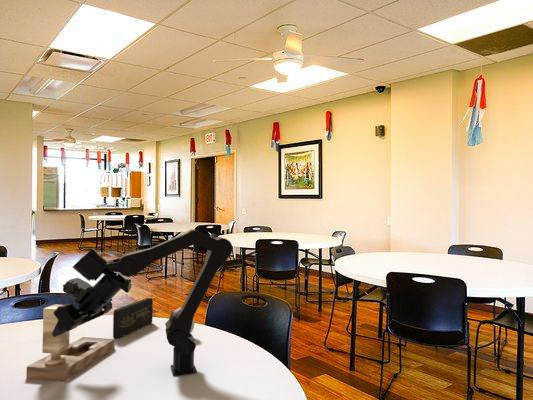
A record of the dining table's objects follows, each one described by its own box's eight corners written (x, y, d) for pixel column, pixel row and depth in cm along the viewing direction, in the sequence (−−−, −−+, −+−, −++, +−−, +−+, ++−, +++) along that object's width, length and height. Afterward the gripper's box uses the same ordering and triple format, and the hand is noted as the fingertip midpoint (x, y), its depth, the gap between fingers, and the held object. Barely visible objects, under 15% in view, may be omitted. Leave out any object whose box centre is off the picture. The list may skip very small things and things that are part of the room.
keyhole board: (64, 381, 103) (64, 369, 103) (26, 378, 105) (26, 366, 105) (114, 348, 127) (114, 339, 127) (83, 346, 129) (83, 336, 129)
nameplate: (148, 322, 157) (148, 297, 157) (152, 323, 156) (152, 297, 157) (112, 339, 137) (113, 310, 137) (117, 339, 136) (118, 310, 137)
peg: (57, 366, 105) (59, 309, 106) (40, 365, 106) (42, 308, 106) (70, 359, 110) (71, 305, 110) (53, 358, 111) (54, 304, 111)
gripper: (103, 264, 117) (68, 300, 118) (61, 274, 98) (20, 316, 100) (128, 292, 115) (92, 328, 117) (90, 308, 97) (47, 350, 98)
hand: (64, 330), depth 108 cm, fingers open, 9 cm apart
